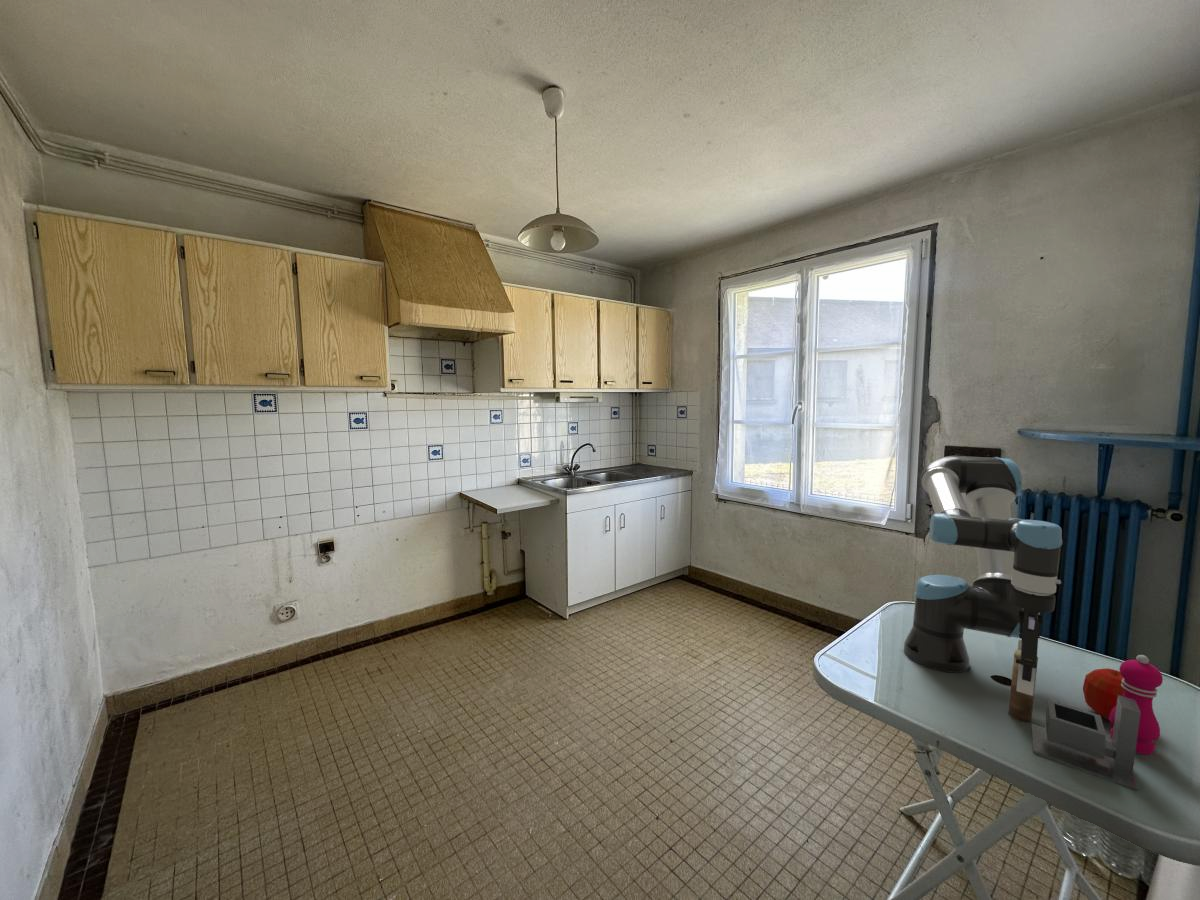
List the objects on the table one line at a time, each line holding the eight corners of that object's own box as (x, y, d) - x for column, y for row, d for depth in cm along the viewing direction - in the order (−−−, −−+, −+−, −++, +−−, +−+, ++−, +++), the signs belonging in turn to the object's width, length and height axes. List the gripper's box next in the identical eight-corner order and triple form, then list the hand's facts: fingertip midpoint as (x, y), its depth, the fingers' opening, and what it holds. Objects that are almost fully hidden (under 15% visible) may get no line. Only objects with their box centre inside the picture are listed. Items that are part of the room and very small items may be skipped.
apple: (1072, 698, 117) (1077, 654, 116) (1129, 711, 113) (1135, 664, 112) (1090, 722, 109) (1096, 675, 107) (1153, 737, 104) (1160, 687, 103)
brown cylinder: (1008, 717, 110) (1014, 655, 109) (1008, 708, 113) (1014, 648, 112) (1031, 725, 108) (1038, 661, 106) (1031, 716, 111) (1037, 654, 109)
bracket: (1033, 753, 99) (1040, 689, 98) (1031, 726, 107) (1037, 667, 106) (1136, 790, 90) (1146, 721, 88) (1126, 757, 98) (1134, 693, 96)
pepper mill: (1097, 733, 105) (1107, 647, 103) (1126, 731, 106) (1137, 645, 104) (1136, 757, 98) (1148, 665, 96) (1168, 755, 99) (1180, 664, 96)
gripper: (1060, 612, 95) (1049, 712, 97) (1052, 579, 114) (1043, 663, 116) (1010, 602, 100) (1001, 697, 102) (1011, 571, 119) (1003, 653, 121)
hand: (1024, 679), depth 109 cm, fingers open, 13 cm apart
